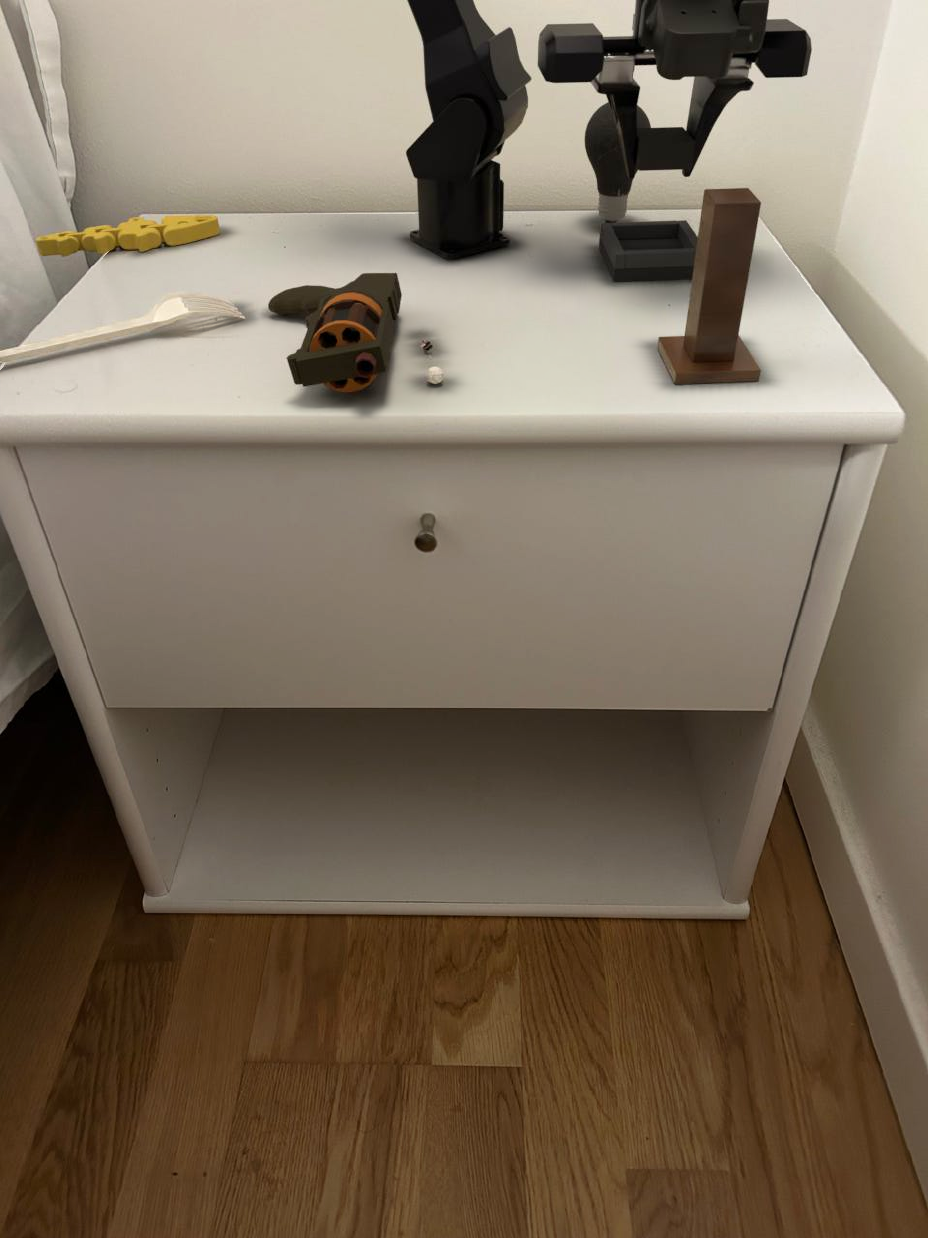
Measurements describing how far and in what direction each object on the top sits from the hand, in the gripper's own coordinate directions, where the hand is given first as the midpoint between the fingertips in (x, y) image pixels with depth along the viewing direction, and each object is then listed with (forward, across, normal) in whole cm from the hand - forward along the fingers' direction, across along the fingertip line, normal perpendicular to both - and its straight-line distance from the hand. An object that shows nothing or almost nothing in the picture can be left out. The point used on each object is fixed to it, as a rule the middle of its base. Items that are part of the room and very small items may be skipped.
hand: (657, 176), depth 78 cm
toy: (+6, -44, +11) cm, 46 cm away
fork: (+5, -41, -12) cm, 43 cm away
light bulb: (+7, -1, +10) cm, 12 cm away
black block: (-1, 0, 0) cm, 1 cm away
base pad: (+7, 0, 0) cm, 7 cm away
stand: (+7, 0, -18) cm, 20 cm away
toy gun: (+6, -31, -14) cm, 34 cm away
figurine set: (+6, -18, -16) cm, 25 cm away
